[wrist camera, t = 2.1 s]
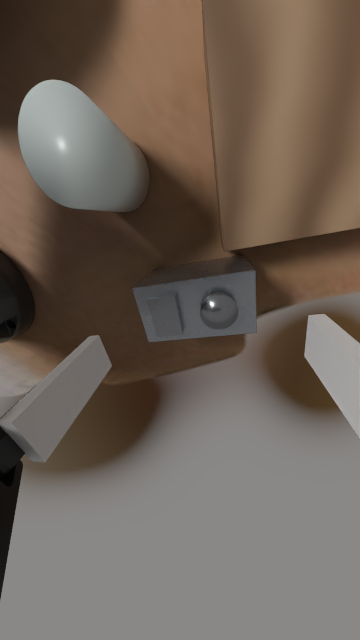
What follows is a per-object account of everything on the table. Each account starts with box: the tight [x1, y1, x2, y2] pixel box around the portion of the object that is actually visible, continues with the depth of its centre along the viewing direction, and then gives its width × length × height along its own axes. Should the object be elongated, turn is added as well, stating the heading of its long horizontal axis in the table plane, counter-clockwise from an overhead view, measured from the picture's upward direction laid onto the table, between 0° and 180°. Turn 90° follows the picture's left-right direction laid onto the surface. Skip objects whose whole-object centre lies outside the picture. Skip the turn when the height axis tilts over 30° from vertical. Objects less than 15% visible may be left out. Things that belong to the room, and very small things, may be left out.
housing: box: [132, 255, 257, 342], centre depth 19 cm, size 10×6×8 cm, turn 101°
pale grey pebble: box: [18, 80, 150, 212], centre depth 15 cm, size 6×6×8 cm
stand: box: [202, 0, 360, 252], centre depth 14 cm, size 14×14×4 cm
